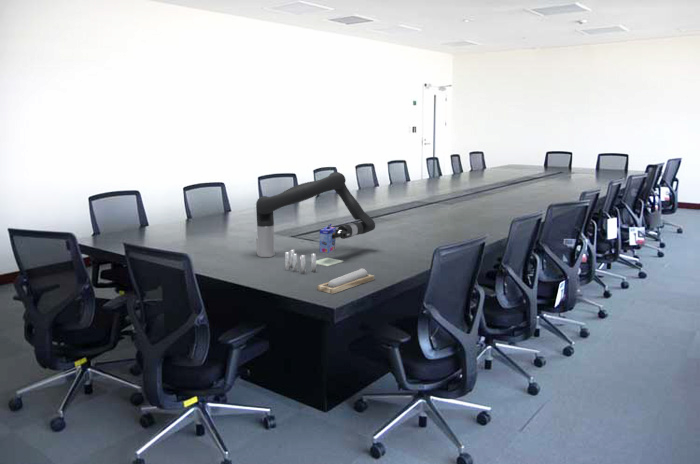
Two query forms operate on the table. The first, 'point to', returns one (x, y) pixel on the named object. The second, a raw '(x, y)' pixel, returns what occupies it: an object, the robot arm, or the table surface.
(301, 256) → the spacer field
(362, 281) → the tube rest
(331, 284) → the tube
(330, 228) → the ink cartridge box
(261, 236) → the robot arm
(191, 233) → the table surface
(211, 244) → the table surface
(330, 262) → the sage mat
